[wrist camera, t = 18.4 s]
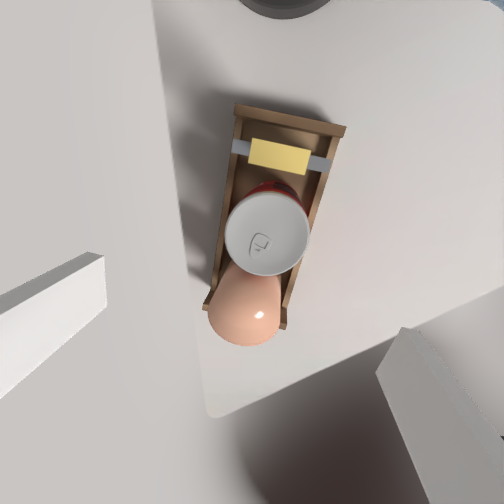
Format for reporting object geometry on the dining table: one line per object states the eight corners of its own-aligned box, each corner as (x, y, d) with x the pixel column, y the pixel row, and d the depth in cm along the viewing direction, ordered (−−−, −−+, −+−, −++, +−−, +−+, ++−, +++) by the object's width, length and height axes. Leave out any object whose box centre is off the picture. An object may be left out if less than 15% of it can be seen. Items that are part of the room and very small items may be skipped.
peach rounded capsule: (233, 240, 33) (212, 277, 23) (286, 252, 33) (288, 295, 23) (226, 286, 36) (204, 336, 26) (274, 297, 36) (271, 352, 26)
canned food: (238, 232, 33) (217, 267, 23) (249, 173, 30) (231, 182, 20) (292, 245, 33) (296, 285, 22) (309, 186, 29) (322, 202, 19)
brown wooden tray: (240, 109, 28) (231, 99, 23) (338, 129, 27) (351, 124, 22) (213, 288, 38) (202, 309, 32) (284, 305, 37) (285, 330, 32)
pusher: (244, 142, 28) (192, 125, 12) (320, 158, 28) (373, 163, 12) (242, 153, 29) (190, 150, 12) (317, 169, 28) (363, 188, 12)
